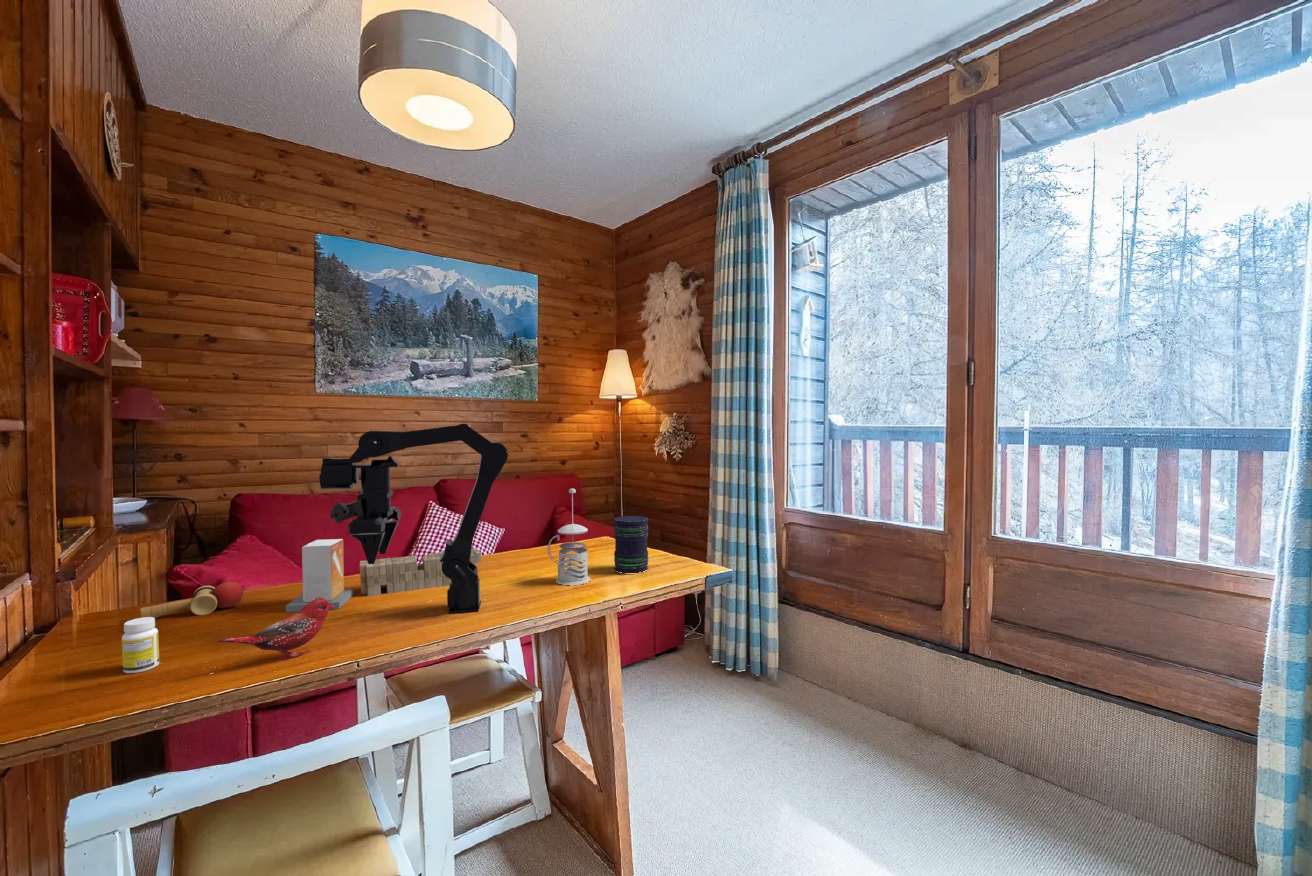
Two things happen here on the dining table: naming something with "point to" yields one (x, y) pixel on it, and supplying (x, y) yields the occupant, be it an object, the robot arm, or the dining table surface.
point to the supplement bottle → (140, 645)
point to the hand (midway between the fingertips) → (377, 558)
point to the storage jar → (631, 544)
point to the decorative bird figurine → (290, 630)
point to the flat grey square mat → (336, 602)
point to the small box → (322, 569)
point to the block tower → (406, 573)
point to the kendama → (200, 601)
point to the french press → (571, 555)
